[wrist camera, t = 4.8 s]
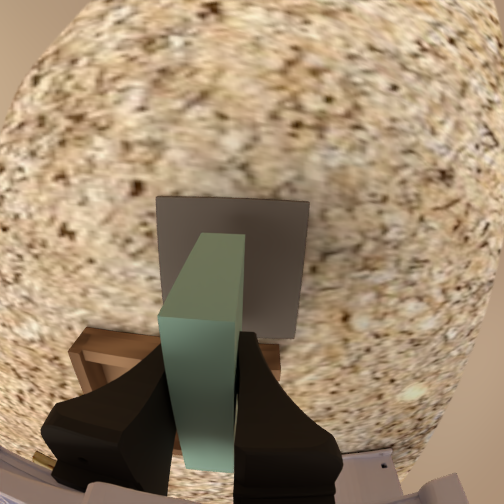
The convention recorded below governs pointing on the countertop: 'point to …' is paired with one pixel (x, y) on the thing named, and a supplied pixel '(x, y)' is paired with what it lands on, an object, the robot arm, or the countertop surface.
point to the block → (205, 349)
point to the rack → (128, 358)
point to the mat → (256, 252)
